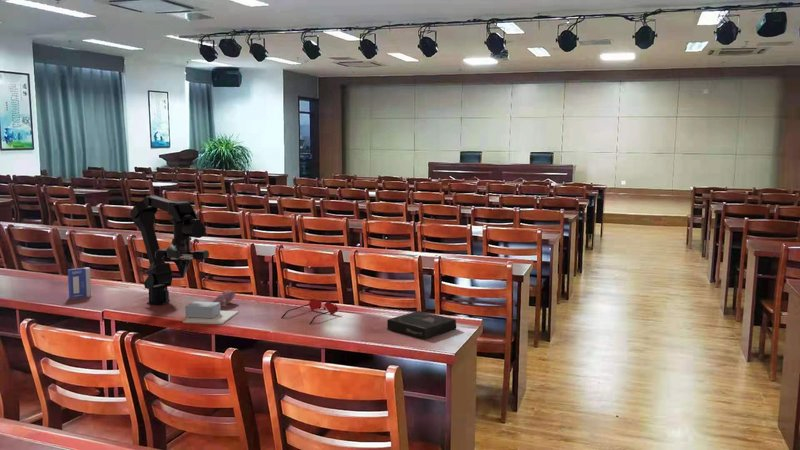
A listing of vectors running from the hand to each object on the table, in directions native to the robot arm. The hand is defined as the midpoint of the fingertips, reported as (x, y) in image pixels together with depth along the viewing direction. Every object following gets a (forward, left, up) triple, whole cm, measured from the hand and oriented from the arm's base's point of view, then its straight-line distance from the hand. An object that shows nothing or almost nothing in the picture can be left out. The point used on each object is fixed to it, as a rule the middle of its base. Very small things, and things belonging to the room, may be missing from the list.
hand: (182, 276), depth 234 cm
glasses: (+49, -3, -13) cm, 51 cm away
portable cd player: (+91, -14, -13) cm, 93 cm away
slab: (+7, -10, -10) cm, 15 cm away
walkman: (-49, +12, -13) cm, 52 cm away
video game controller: (+12, +8, -13) cm, 20 cm away
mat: (+15, -10, -12) cm, 22 cm away
